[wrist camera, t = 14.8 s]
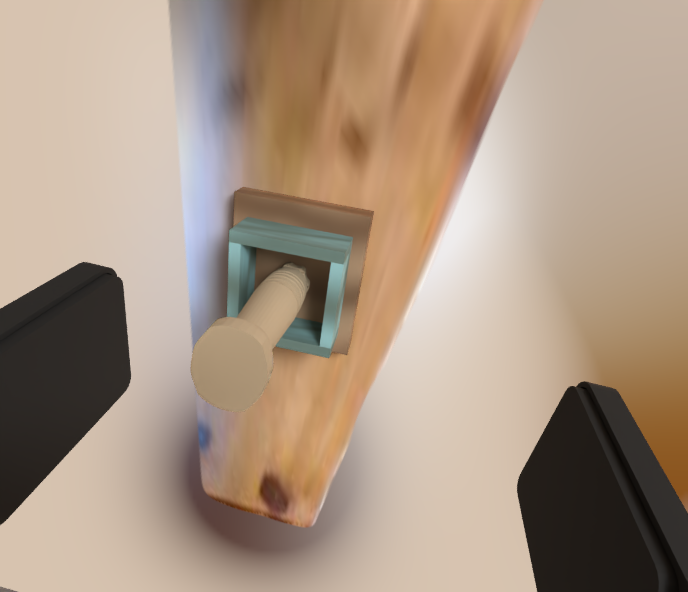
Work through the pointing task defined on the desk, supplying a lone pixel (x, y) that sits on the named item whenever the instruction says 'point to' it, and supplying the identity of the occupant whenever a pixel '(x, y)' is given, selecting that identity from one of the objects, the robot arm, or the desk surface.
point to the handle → (248, 342)
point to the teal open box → (301, 262)
